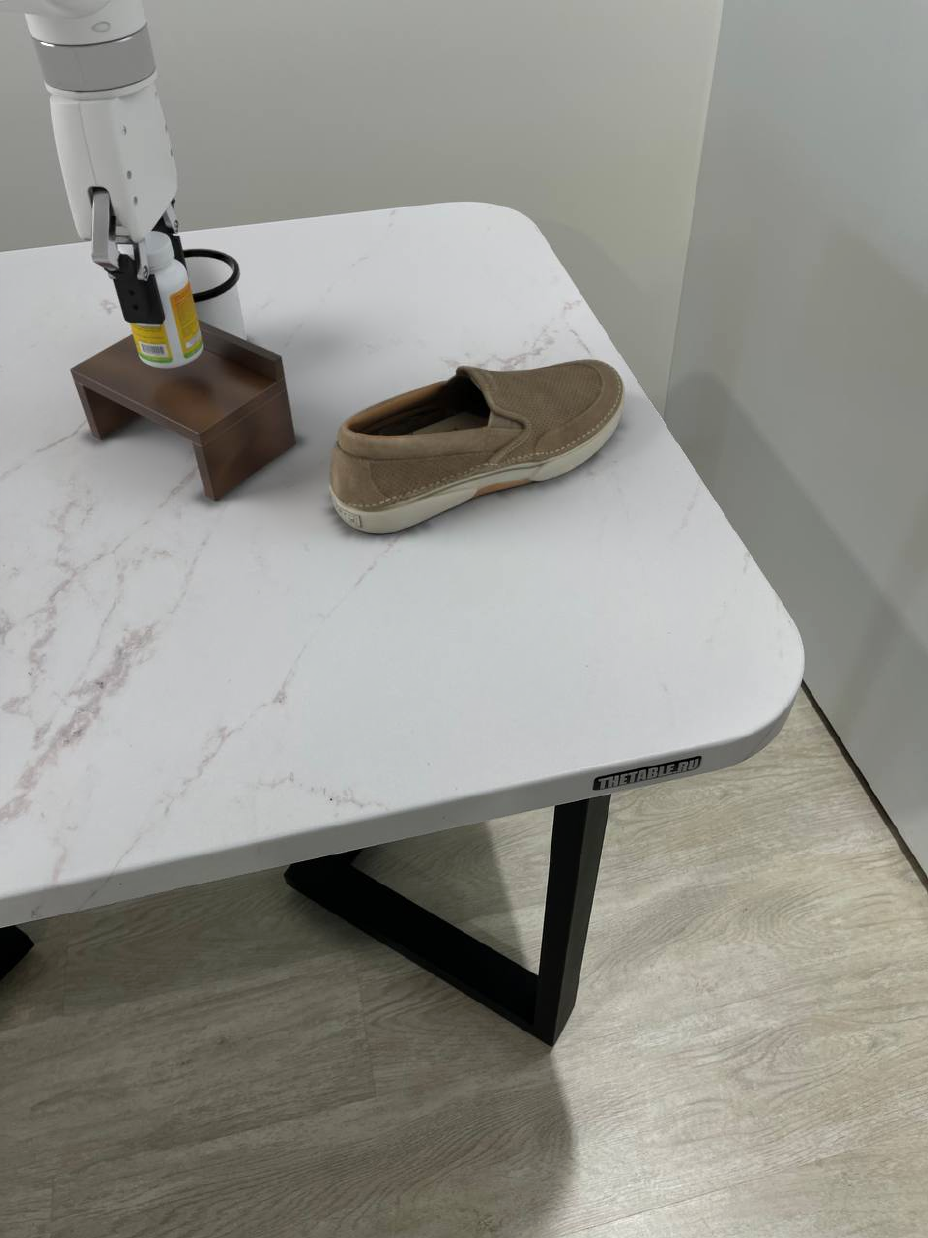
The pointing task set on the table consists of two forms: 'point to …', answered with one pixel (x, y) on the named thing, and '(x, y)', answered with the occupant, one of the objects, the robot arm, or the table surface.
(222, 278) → the mug
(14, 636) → the table surface
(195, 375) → the shelf
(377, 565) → the table surface
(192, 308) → the supplement bottle
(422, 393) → the slip on shoe
